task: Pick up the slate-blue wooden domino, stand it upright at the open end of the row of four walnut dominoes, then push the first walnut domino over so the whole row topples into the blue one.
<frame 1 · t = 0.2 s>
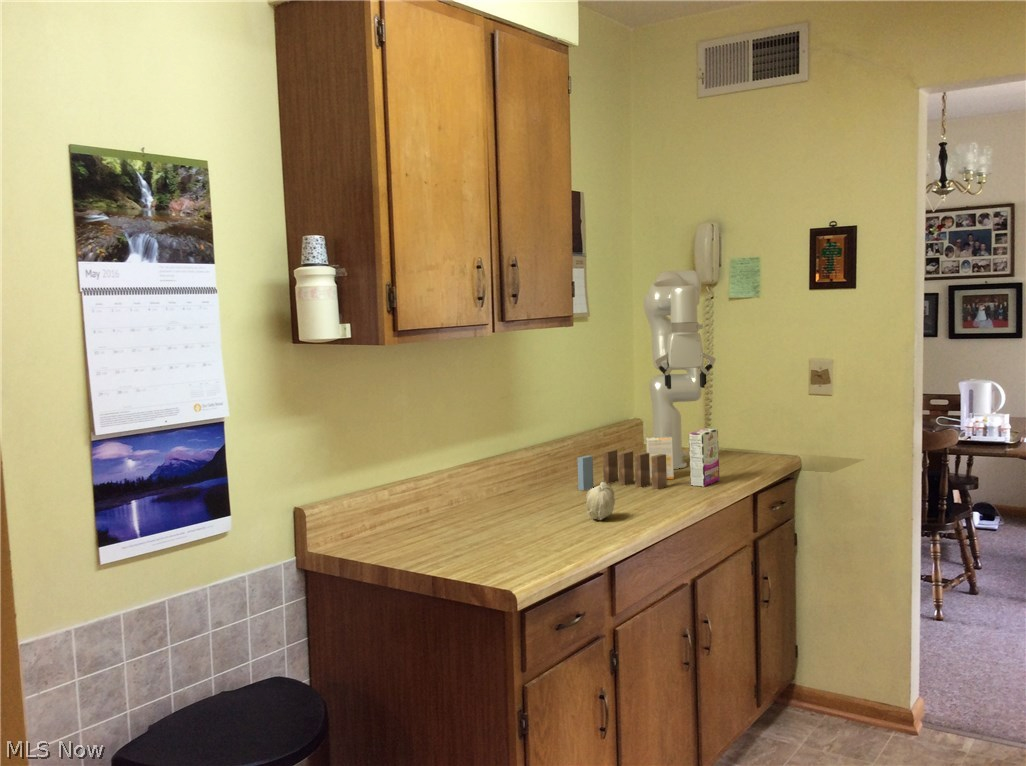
hand: (685, 388, 258), 31 cm above the counter, tool pointing down, fingers open, 9 cm apart
supplement box: (660, 479, 285), on the counter
garlic bulb: (601, 520, 233), on the counter
domino 2: (626, 484, 278), on the counter
domino 1: (611, 482, 282), on the counter
candy bar box: (704, 484, 275), on the counter
domino 3: (642, 486, 274), on the counter
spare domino: (586, 489, 273), on the counter
domino 4: (659, 488, 270), on the counter
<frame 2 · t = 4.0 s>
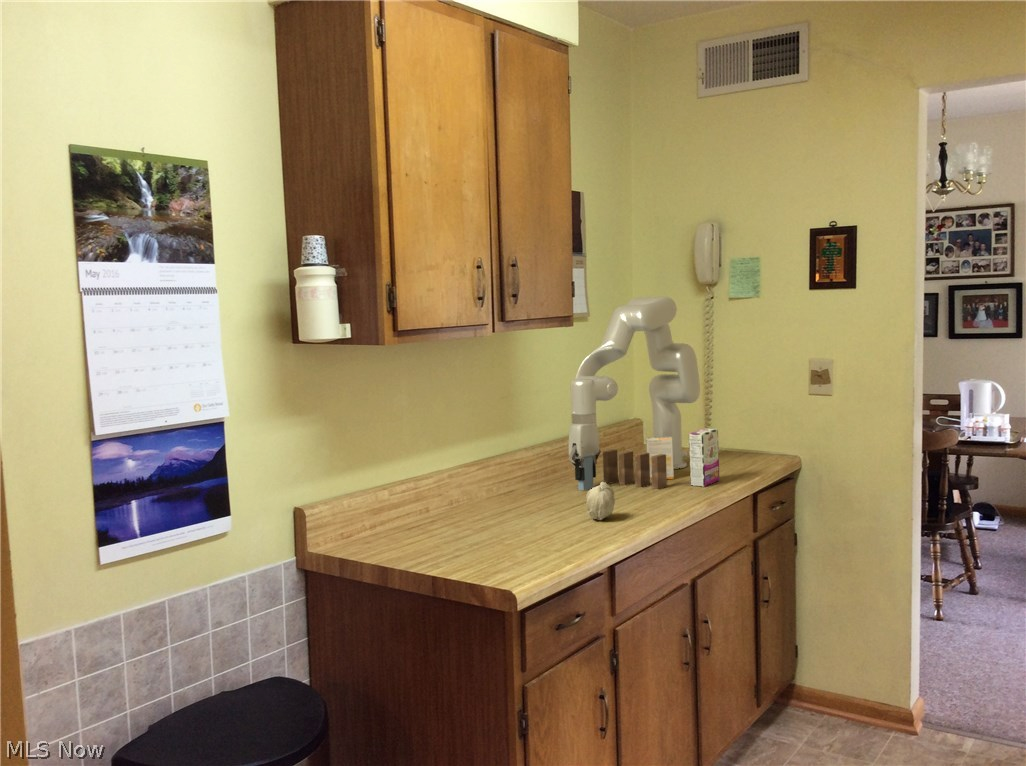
hand: (585, 478, 272), 3 cm above the counter, tool pointing down, fingers closed on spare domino, 4 cm apart
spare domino: (586, 489, 273), on the counter, touching gripper
everything else where it was.
when the fingers open (4 cm above the counter, at t = 12.0 s): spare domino stays where it is, on the counter.
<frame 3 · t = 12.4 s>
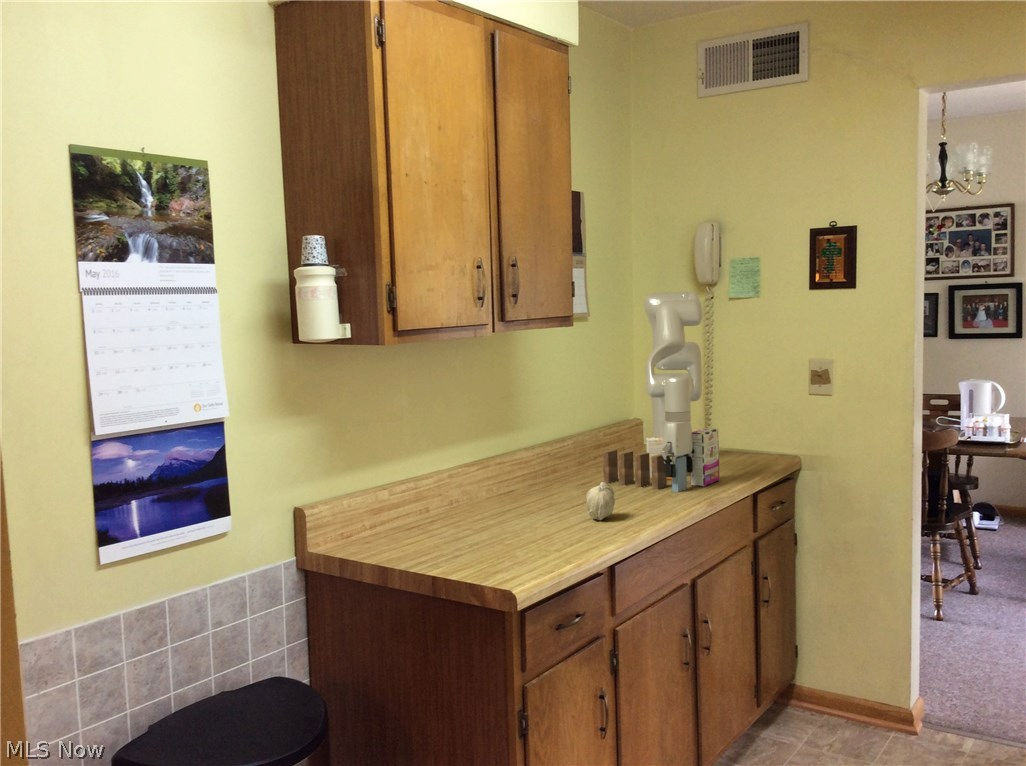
hand: (679, 474, 265), 5 cm above the counter, tool pointing down, fingers open, 9 cm apart
candy bar box: (704, 483, 275), on the counter, touching gripper
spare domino: (679, 490, 266), on the counter
everything else where it was.
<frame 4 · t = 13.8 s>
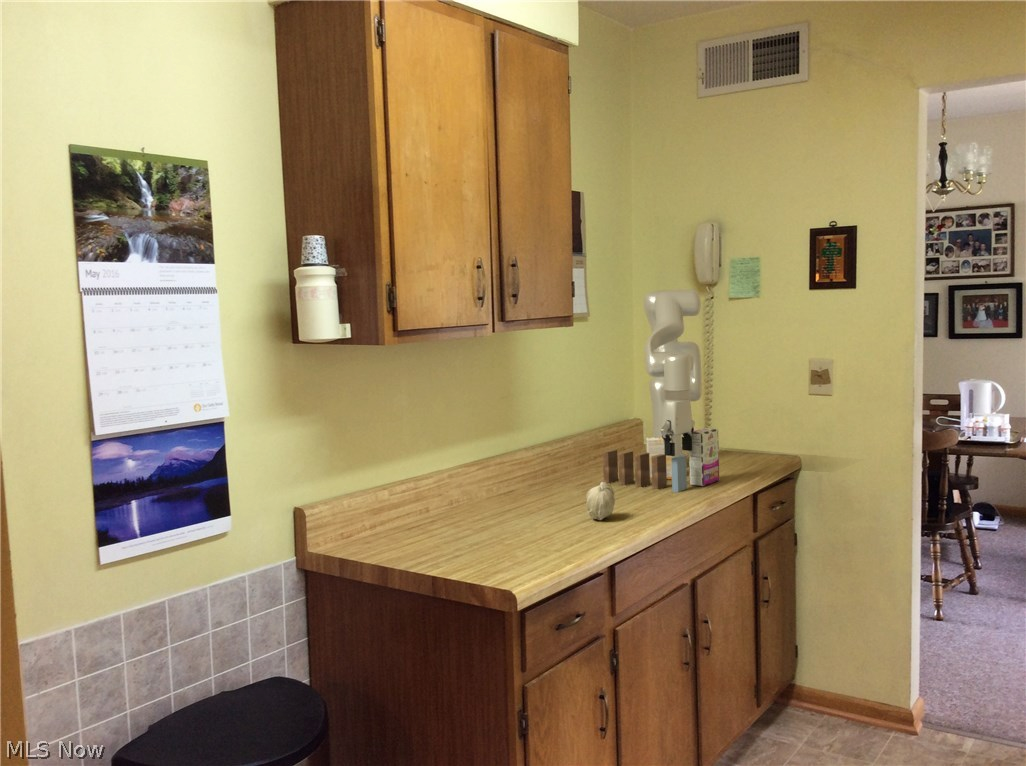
hand: (678, 453, 265), 11 cm above the counter, tool pointing down, fingers open, 9 cm apart
candy bar box: (704, 483, 275), on the counter
everything else where it was.
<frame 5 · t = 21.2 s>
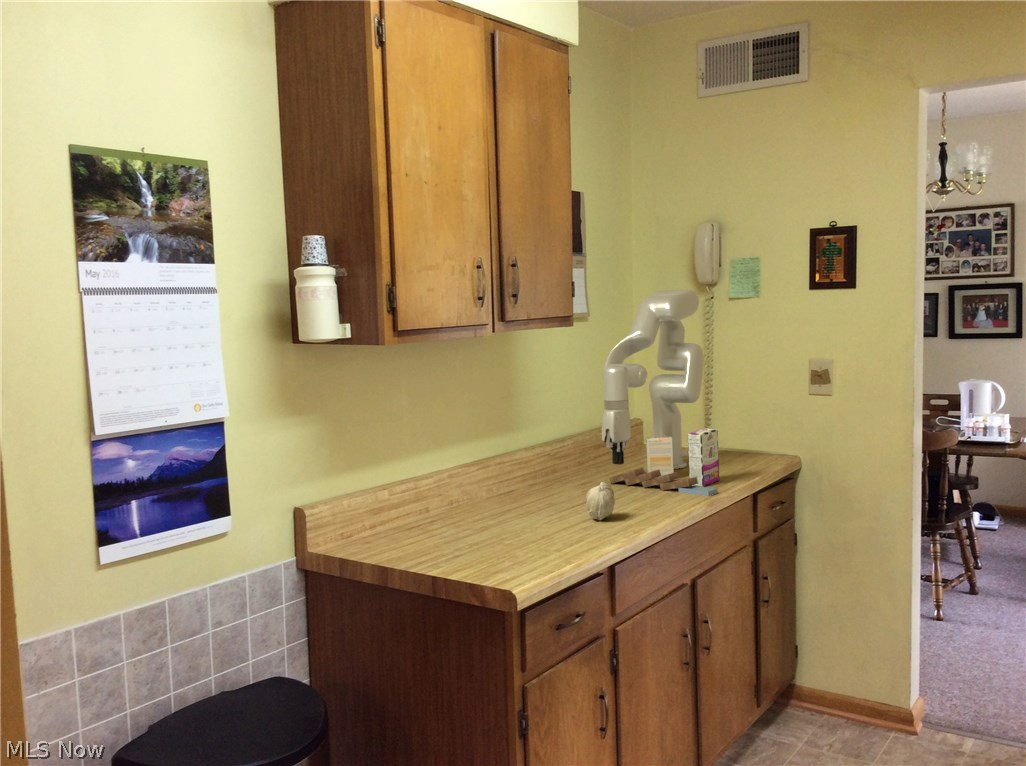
hand: (618, 463, 280), 6 cm above the counter, tool pointing down, fingers closed
domino 2: (630, 481, 277), point 1 cm above the counter, tilted 71°, touching domino 1, domino 3
domino 1: (614, 479, 281), point 1 cm above the counter, tilted 71°, touching domino 2
domino 3: (647, 483, 273), point 1 cm above the counter, tilted 72°, touching domino 2, domino 4
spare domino: (683, 489, 265), on the counter, tilted 90°
domino 4: (664, 485, 269), point 1 cm above the counter, tilted 77°, touching domino 3
everything else where it was.
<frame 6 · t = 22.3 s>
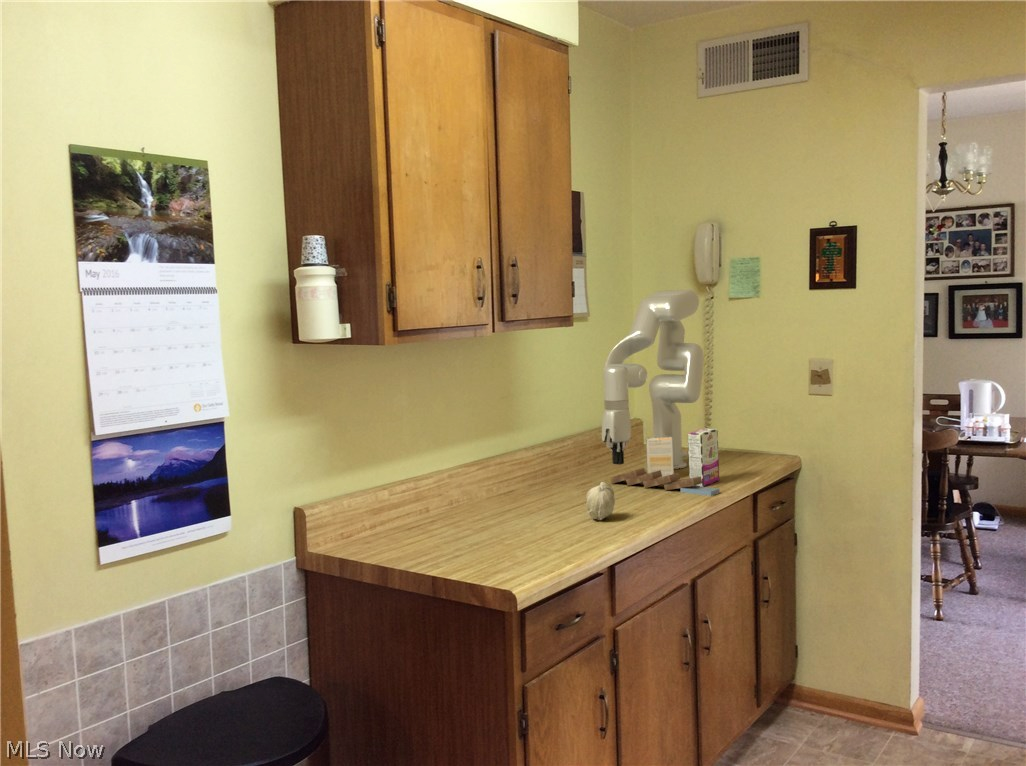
hand: (618, 463, 280), 6 cm above the counter, tool pointing down, fingers closed
domino 2: (631, 481, 277), point 1 cm above the counter, tilted 72°, touching domino 1
domino 3: (648, 483, 273), point 1 cm above the counter, tilted 73°, touching domino 4
domino 4: (668, 485, 268), point 1 cm above the counter, tilted 77°, touching domino 3
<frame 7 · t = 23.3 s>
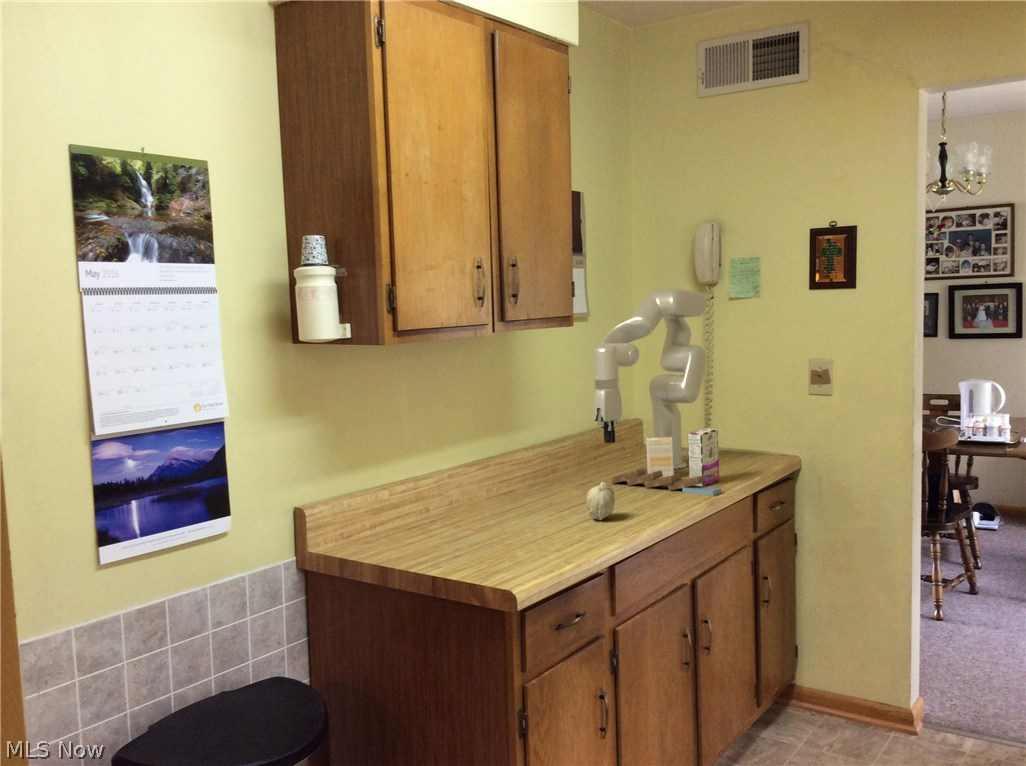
hand: (609, 442, 282), 13 cm above the counter, tool pointing down, fingers closed
domino 2: (632, 481, 277), point 1 cm above the counter, tilted 72°, touching domino 1, domino 3
domino 3: (649, 483, 272), point 1 cm above the counter, tilted 74°, touching domino 2, domino 4
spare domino: (686, 489, 264), on the counter, tilted 90°, touching domino 4
domino 4: (672, 485, 268), point 1 cm above the counter, tilted 74°, touching domino 3, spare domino
everything else where it was.
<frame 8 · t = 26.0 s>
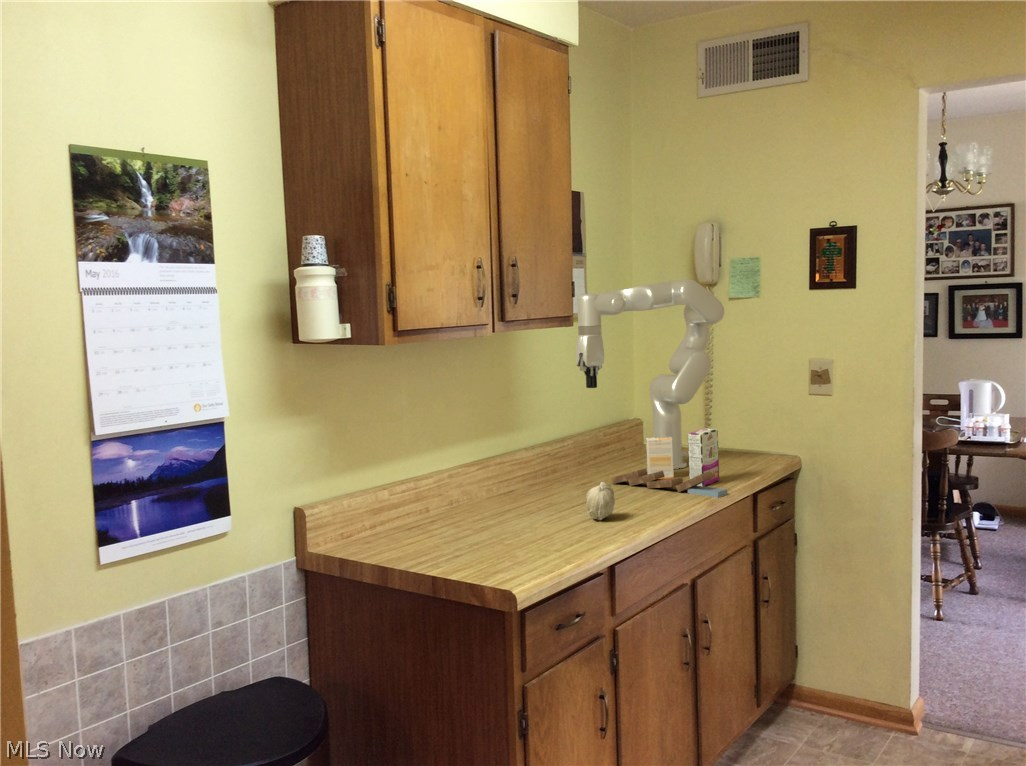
hand: (591, 387, 292), 29 cm above the counter, tool pointing down, fingers closed
domino 3: (652, 483, 272), point 1 cm above the counter, tilted 80°, touching domino 2, domino 4
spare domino: (692, 490, 263), point 1 cm above the counter, tilted 90°
domino 4: (681, 487, 265), point 1 cm above the counter, tilted 63°, touching domino 3
at the end: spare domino tilted 90°; domino 3 tilted 79°; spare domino inside the target area (1.4 cm from its centre), on the counter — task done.
